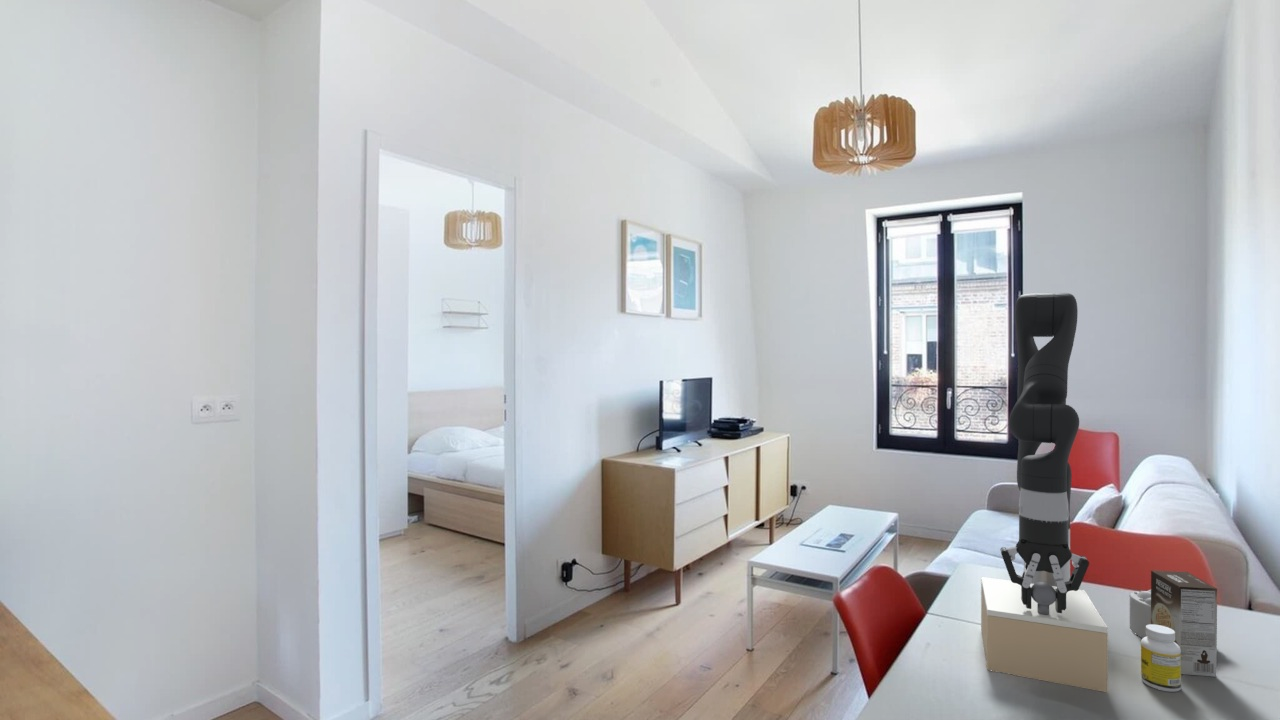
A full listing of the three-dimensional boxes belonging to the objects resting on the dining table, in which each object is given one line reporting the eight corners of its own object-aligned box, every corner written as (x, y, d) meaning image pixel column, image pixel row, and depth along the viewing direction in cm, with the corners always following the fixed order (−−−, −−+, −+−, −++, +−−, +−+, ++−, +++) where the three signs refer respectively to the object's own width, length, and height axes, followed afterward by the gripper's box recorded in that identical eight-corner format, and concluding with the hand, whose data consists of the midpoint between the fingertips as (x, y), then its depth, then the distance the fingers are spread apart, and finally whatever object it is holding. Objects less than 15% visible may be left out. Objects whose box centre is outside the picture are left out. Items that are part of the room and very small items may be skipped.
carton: (981, 629, 133) (981, 582, 133) (1084, 646, 126) (1084, 595, 125) (987, 670, 116) (987, 615, 116) (1107, 692, 108) (1107, 633, 108)
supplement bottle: (1141, 673, 115) (1141, 619, 115) (1180, 683, 111) (1180, 627, 111) (1140, 685, 110) (1140, 629, 110) (1181, 696, 107) (1181, 638, 107)
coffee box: (1148, 651, 123) (1148, 568, 123) (1186, 654, 122) (1186, 571, 122) (1178, 674, 114) (1178, 585, 114) (1219, 678, 113) (1219, 588, 113)
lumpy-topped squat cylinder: (1186, 655, 122) (1186, 610, 122) (1115, 628, 134) (1115, 587, 134) (1220, 647, 125) (1221, 603, 125) (1148, 621, 137) (1148, 581, 137)
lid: (981, 581, 133) (981, 550, 133) (1084, 595, 125) (1084, 562, 125) (987, 615, 116) (987, 579, 116) (1107, 633, 108) (1107, 595, 108)
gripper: (1086, 513, 115) (1086, 608, 115) (996, 506, 121) (996, 596, 121) (1095, 523, 108) (1095, 624, 108) (999, 514, 114) (999, 610, 114)
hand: (1043, 608), depth 114 cm, fingers closed on lid, 4 cm apart
